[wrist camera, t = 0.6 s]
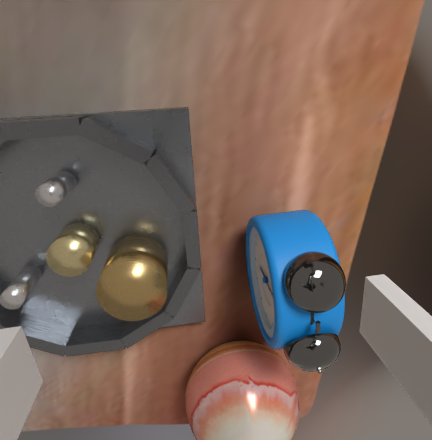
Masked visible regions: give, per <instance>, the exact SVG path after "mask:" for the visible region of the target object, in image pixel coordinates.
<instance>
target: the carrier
mask: <svg viewBox="0 0 432 440" xmlns="http://www.w3.org/2000/svg"><path fill="white" fill-rule="evenodd" d="M200 322H205V311H204V298H203V286H202V273H201V258H200V245H199V233H198V220H197V210H196V198H195V186H194V173H193V161H192V148H191V136H190V123H189V110H188V107H182V108H165V109H149V110H133V111H117V112H101V113H85V114H69V115H53V116H37V117H21V118H5V119H0V329H4V328H11V327H18V326H22V329H23V331H24V334H25V337H26V339H27V342H28V344H29V347H31V348H34V349H38V350H42V351H46V352H49V353H53V354H57V355H61V356H64V354H65V353H66V356H74V355H82V354H89V353H97V352H105V351H113V350H120V349H125V346H126V347H127V348H128V347H130V346H131V345H133V344H135V343H136V342H138V341H139V340H141V339H143V338H144V337H146V336H147V335H149V334H151V333H152V332H154V331H155V330H157V329H159V328H160V327H168V326H176V325H184V324H192V323H200Z"/></svg>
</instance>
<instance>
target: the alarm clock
mask: <svg viewBox="0 0 432 440" xmlns="http://www.w3.org/2000/svg"><path fill="white" fill-rule="evenodd" d="M246 261H247V271H248V279H249V285H250V291H251V296H252V301H253V306H254V310H255V314H256V317H257V321H258V324H259V327H260V330H261V333H262V335H263V337H264V339H265V341H266V342H267V344H268V345H269V346H270V347H271V348H273V349H283V348H284V353H285V356H286V358H287V360H288V361H289V363H290V364H292V365H293V366H294V367H296V368H298V369H300V370H303V371H308V372H316V371H318V373H319V374H320V373H322V370H324V369H326V368H328V367H330V366H331V365H332V364H333V363H334V362H335V361H336V360H337V359H338V357H339V355H340V351H341V343H340V340H339V337H338V336H337V335H338V333H339V332H340V330H341V327H342V323H343V318H344V307H345V298H344V297H345V296H344V293H345V289H346V278H345V274H344V272H343V270H342V268H341V266H340V263H339V259H338V255H337V252H336V249H335V246H334V244H333V241H332V239H331V237H330V235H329V233H328V231H327V229H326V227H325V226H324V224H323V223H322V221H321V220H320V219H319V218H318V217H317V216H316V215H315V214H314V213H312V212H310V211H308V210H299V211H291V212H282V213H274V214H266V215H258V216H254V217H252V218H251V219H250V220H249V222H248V225H247V230H246Z"/></svg>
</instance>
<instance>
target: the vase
mask: <svg viewBox="0 0 432 440" xmlns="http://www.w3.org/2000/svg"><path fill="white" fill-rule="evenodd" d="M185 403H186V412H187V417H188V421H189V424H190V427H191V430H192V432H193V434H194V436H195V438H196V440H292V438H293V436H294V433H295V431H296V428H297V424H298V419H299V410H300V402H299V394H298V389H297V384H296V382H295V379H294V376H293V374H292V372H291V370H290V368H289V367H288V365H287V364H286V362H285V361H284V360H283V359H282V358H281V357H280V356H279V355H278V354H277V353H276V352H275V351H273V350H272V349H270V348H269V347H266V346H264V345H262V344H259V343H256V342H252V341H232V342H228V343H224V344H222V345H219V346H217V347H215V348H214V349H212V350H211V351H209V352H208V353H207V354H206V355H204V356H203V357H202V358H201V359H200V361H199V362H198V363H197V365H196V366H195V367H194V369H193V371H192V373H191V375H190V377H189V380H188V384H187V388H186V396H185Z"/></svg>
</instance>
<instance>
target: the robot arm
mask: <svg viewBox="0 0 432 440" xmlns="http://www.w3.org/2000/svg"><path fill="white" fill-rule="evenodd" d="M363 297H364V298H363V306H362V315H361V325H360V333H361V334H362V336H363V337H364V338H365V340H366V341H367V342H368V343H369V345H370V346H371V347H372V349H373V350H374V351H375V352H376V354H377V355H378V356H379V358H380V359H381V361H382V362H383V363H384V364H385V366H386V367H387V368H388V370H389V371H390V372H391V374H392V375H393V376H394V377H395V379H396V380H397V381H398V383H399V384H400V385H401V387H402V388H403V389H404V390H405V392H406V393H407V394H408V396H409V397H410V399H411V400H412V401H413V402H414V404H415V405H416V406H417V408H418V409H419V410H420V411H421V413H422V414H423V415H424V417H425V418H426V419H427V421H428V422H429V423H430V425H431V426H432V316H430V315H429V314H428V313H427V312H426V311H425V310H424V309H423V308H421V307H420V306H419V305H418V304H417V303H416V302H415V301H413V300H412V299H411V298H410V297H409V296H408V295H407V294H406V293H404V292H403V291H402V290H401V289H400V288H399V287H398V286H397V285H395V284H394V283H393V282H392V281H391V280H390V279H389V278H388V277H386V276H385V275H384V274H382V275H375V276H369V277H366V278H365V287H364V296H363ZM42 383H43V380H42V378H41V375H40V373H39V370H38V367H37V365H36V362H35V360H34V357H33V355H32V352H31V349H30V347H29V344H28V342H27V339H26V337H25V334H24V331H23V329H22V326H18V327H11V328H4V329H0V440H18V437H19V435H20V433H21V430H22V428H23V426H24V424H25V421H26V419H27V417H28V415H29V412H30V410H31V408H32V405H33V403H34V401H35V399H36V396H37V394H38V392H39V389H40V387H41V385H42Z"/></svg>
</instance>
